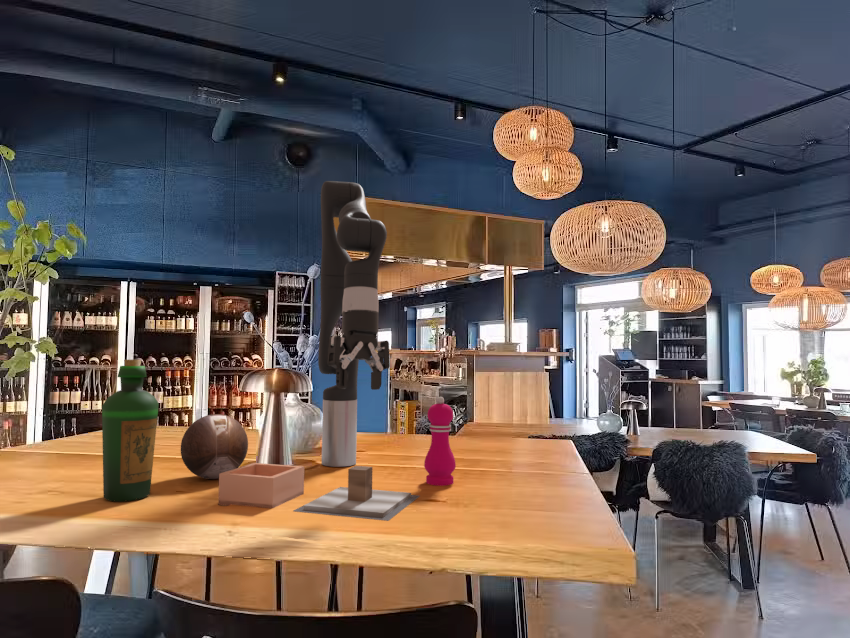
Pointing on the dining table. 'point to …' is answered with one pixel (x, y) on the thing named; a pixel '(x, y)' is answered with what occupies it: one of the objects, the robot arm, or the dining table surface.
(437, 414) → the pepper mill
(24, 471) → the dining table surface
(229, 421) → the brown ball
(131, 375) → the bottle
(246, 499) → the pink storage bin
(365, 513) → the lid
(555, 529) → the dining table surface
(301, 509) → the mat
